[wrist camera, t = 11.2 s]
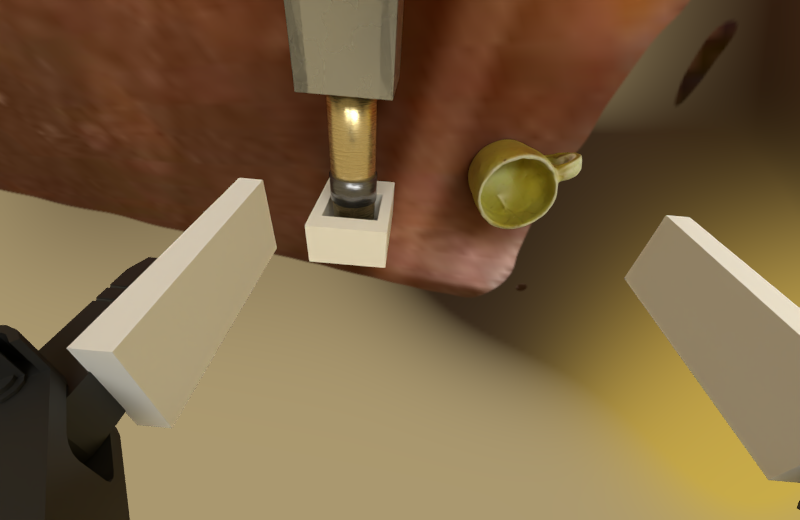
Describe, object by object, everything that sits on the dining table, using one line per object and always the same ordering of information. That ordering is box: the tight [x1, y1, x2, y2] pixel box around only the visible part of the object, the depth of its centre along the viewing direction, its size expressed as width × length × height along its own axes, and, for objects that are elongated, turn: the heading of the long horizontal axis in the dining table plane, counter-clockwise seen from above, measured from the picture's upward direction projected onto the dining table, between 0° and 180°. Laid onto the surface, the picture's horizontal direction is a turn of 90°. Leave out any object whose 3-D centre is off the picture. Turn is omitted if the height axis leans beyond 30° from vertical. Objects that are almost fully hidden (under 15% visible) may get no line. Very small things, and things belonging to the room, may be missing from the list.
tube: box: [326, 95, 377, 220], centre depth 36 cm, size 17×5×5 cm, turn 176°
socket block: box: [305, 177, 395, 268], centre depth 42 cm, size 5×9×12 cm, turn 86°
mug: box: [468, 139, 582, 229], centre depth 41 cm, size 12×10×10 cm
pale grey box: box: [284, 0, 404, 100], centre depth 29 cm, size 12×9×11 cm
